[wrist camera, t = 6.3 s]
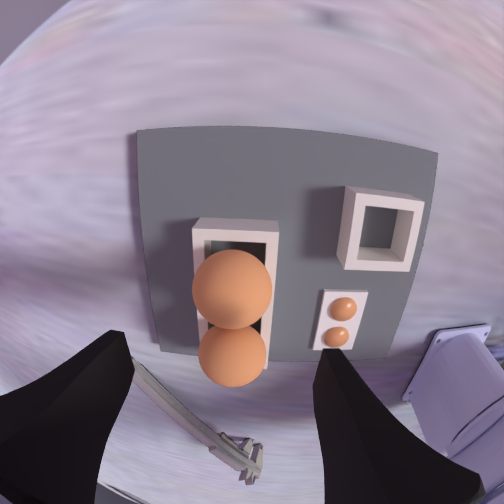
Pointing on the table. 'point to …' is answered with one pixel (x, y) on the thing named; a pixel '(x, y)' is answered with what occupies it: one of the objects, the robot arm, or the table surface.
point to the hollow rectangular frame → (242, 233)
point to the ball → (232, 289)
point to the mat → (289, 222)
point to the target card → (339, 318)
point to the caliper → (203, 429)
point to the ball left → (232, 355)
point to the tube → (402, 237)
